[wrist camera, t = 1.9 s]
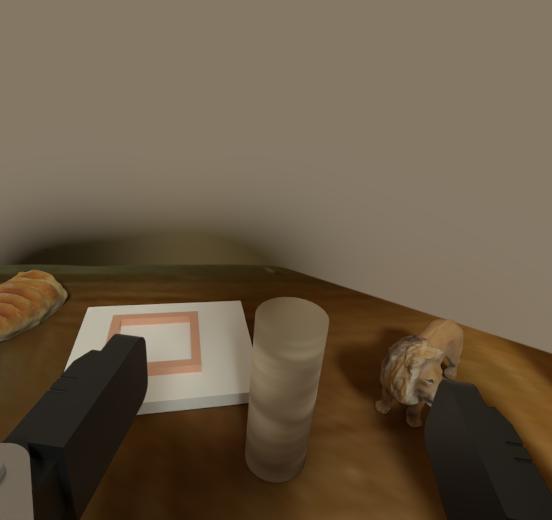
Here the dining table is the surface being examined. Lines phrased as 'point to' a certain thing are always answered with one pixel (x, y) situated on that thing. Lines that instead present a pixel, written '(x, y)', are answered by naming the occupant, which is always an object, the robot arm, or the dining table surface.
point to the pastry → (28, 301)
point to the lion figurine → (419, 367)
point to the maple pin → (283, 385)
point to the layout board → (180, 351)
